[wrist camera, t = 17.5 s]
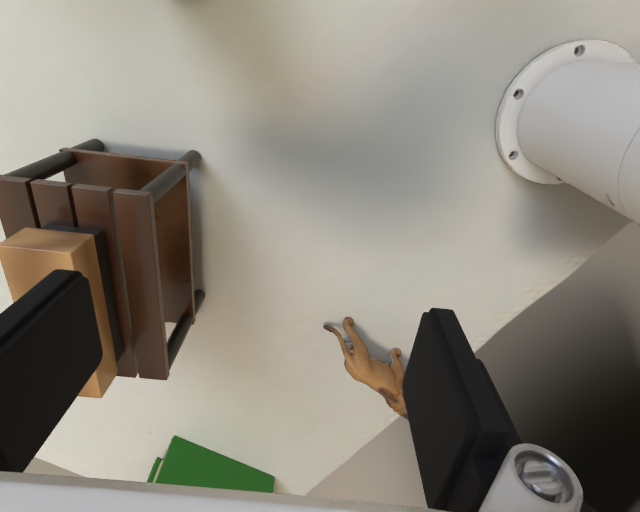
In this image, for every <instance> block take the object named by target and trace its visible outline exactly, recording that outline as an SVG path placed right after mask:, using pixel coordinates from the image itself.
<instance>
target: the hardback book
mask: <svg viewBox="0 0 640 512" xmlns="http://www.w3.org/2000/svg"><path fill="white" fill-rule="evenodd" d="M147 483H159V484H171V485H183V486H195V487H207V488H219V489H231V490H243V491H255V492H266V493H273V485H274V477H273V476H271V475H269V474H266V473H264V472H261V471H259V470H257V469H254V468H252V467H249V466H247V465H244V464H242V463H240V462H237V461H235V460H232V459H230V458H228V457H225V456H223V455H220V454H218V453H216V452H213V451H211V450H208V449H206V448H204V447H201V446H199V445H196V444H194V443H191V442H189V441H187V440H184V439H182V438H179V437H177V436H174V437H173V438H172V440H171V443H170V445H169V448H168V450H167V453H166V456H165V458H164V459H160V458H157V459H156V461H155V463H154V465H153V468H152V470H151V473H150V475H149V478H148V480H147Z"/></svg>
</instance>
